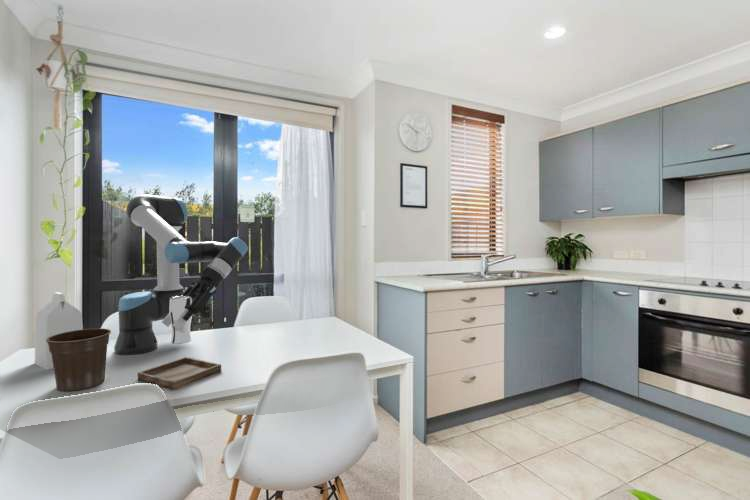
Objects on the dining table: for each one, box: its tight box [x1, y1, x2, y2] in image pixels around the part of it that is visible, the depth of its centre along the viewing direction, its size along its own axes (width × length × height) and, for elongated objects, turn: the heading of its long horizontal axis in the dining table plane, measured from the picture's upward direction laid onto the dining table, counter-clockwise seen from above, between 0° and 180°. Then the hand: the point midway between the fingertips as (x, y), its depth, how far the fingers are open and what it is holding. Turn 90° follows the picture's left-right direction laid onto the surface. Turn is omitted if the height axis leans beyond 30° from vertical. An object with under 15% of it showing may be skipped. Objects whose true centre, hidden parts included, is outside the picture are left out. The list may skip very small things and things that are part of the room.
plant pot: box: [46, 328, 112, 392], centre depth 119 cm, size 16×16×16 cm
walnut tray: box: [137, 356, 222, 391], centre depth 127 cm, size 18×18×2 cm
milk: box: [34, 291, 84, 371], centre depth 139 cm, size 12×12×26 cm
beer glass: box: [169, 296, 193, 345], centre depth 126 cm, size 7×7×15 cm
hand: (170, 325), depth 123 cm, fingers closed on beer glass, 7 cm apart
